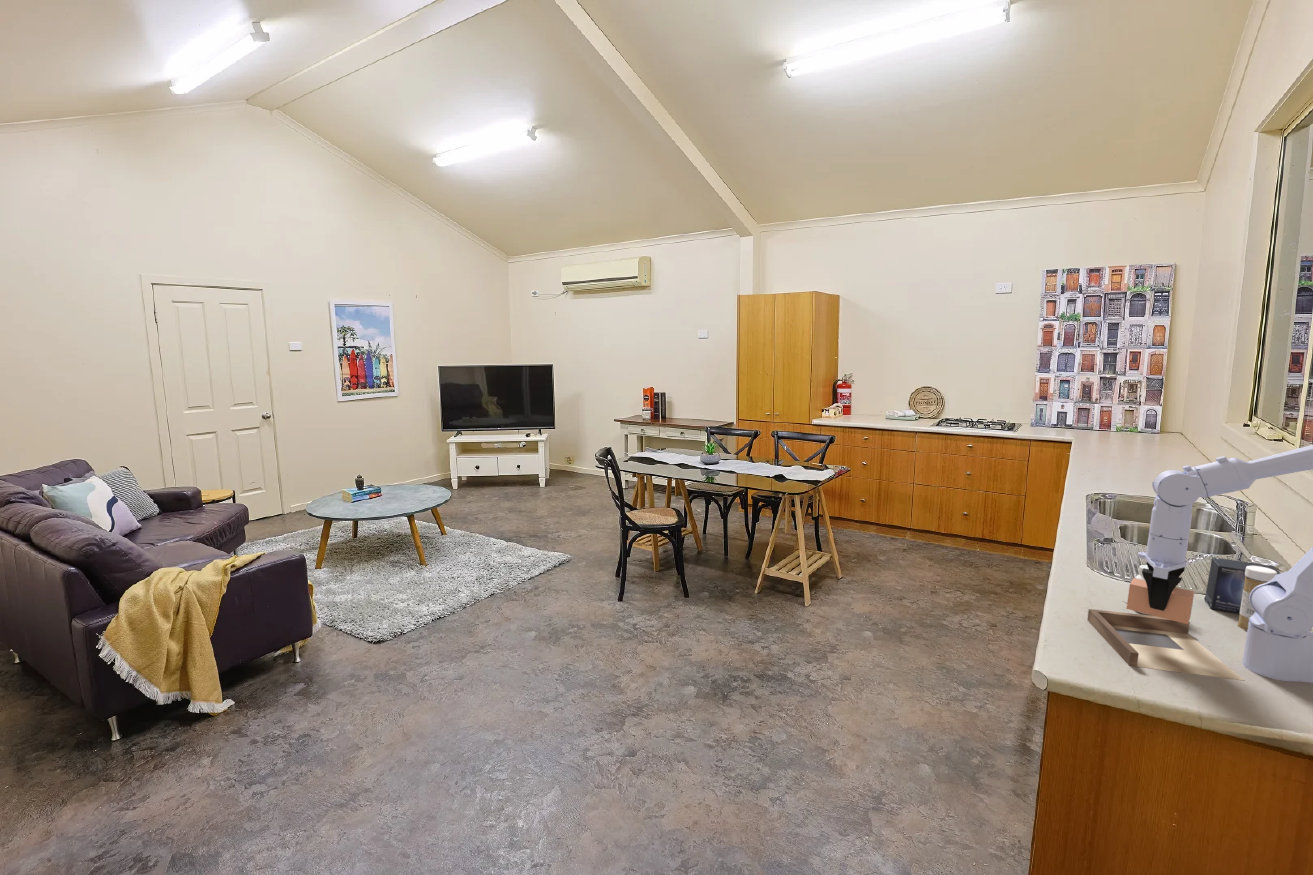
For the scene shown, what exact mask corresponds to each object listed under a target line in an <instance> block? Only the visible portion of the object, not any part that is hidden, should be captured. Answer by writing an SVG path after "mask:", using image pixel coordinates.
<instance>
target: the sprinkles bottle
mask: <svg viewBox="0 0 1313 875" xmlns="http://www.w3.org/2000/svg"><path fill="white" fill-rule="evenodd" d="M1245 575H1246V576H1245V584H1244V589H1243V594H1242V601H1241V607H1240V614H1239V616H1238V622H1237V623H1238V624H1237V625H1236V627H1239V628H1240V629H1241V630H1243V631H1245V632H1246V633H1247V630H1248V624H1249V618H1250V617H1251V616H1252V615H1253V614H1254V613H1255V611H1256V610H1255V609H1254V608H1253V607H1252V606H1251V604H1250V601H1249V595H1250V592H1251V591H1252V590H1253V589H1254V588H1255V587H1256V586H1258V585H1261V584H1264V583H1267V582H1269V581H1270V580H1272V579H1273V578H1274V577H1275V576H1276V575H1277V572H1276V571H1274V570H1272V569H1269V568H1265V567H1260V566H1247V567H1246V570H1245Z"/></svg>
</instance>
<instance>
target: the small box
mask: <svg viewBox="0 0 1313 875" xmlns="http://www.w3.org/2000/svg"><path fill="white" fill-rule="evenodd" d="M1210 562H1211V563H1210V567H1209V574H1208V580H1207V584H1206V590H1205V591H1206V592H1205V595H1204V601H1205V602H1206V603H1207V605H1208V607H1209V608H1210V609H1211V610H1213V611H1214V610H1215V611H1220V612H1226V613H1232V614H1237V615H1240V607H1241V601H1242V594H1243V589H1244V584H1245V576H1246V575H1245V570H1246V567H1247V566H1260V567H1265V568H1269V569H1272V570H1274V571H1276V572H1277V575H1278V574H1280V573H1281V572H1280V571H1279V570H1278V569H1277V568H1275V567H1274V566H1273V565H1268V564H1262V563H1256V562H1247V561H1241V560H1232V559H1227V558H1220V557H1211V560H1210Z"/></svg>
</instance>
